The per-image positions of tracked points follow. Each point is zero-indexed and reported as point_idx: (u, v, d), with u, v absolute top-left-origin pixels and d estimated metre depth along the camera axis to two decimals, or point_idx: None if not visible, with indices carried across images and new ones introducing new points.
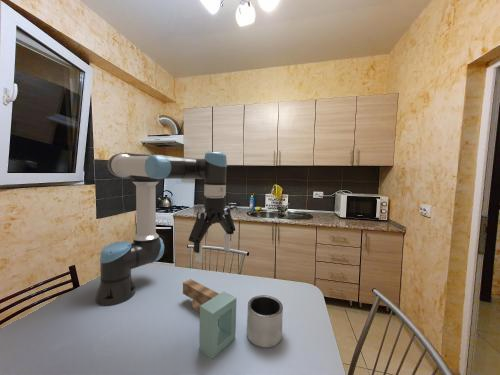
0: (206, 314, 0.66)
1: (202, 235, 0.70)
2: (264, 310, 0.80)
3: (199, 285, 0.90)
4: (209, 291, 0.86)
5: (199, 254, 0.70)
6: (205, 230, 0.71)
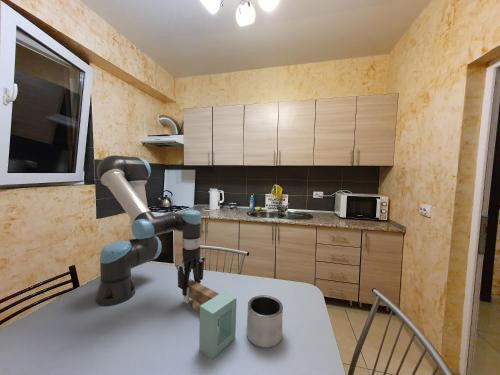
0: (206, 314, 0.66)
1: (187, 282, 0.89)
2: (264, 310, 0.80)
3: (199, 285, 0.90)
4: (209, 291, 0.86)
5: (186, 296, 0.90)
6: (188, 277, 0.89)
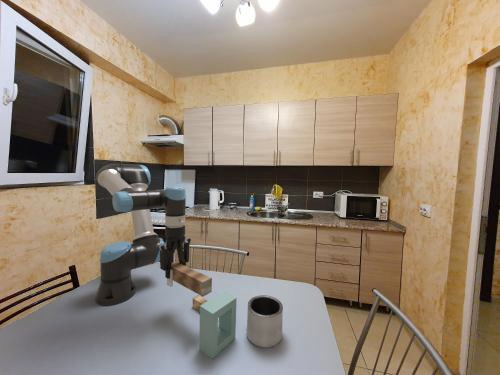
0: (206, 314, 0.66)
1: (170, 263, 0.82)
2: (264, 310, 0.80)
3: (184, 267, 0.83)
4: (194, 272, 0.79)
5: (170, 279, 0.82)
6: (171, 258, 0.82)
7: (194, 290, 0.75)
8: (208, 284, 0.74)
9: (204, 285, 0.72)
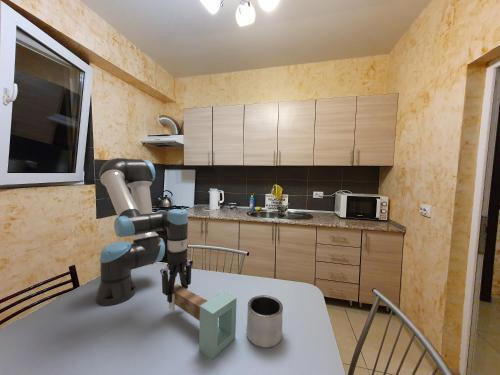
0: (206, 314, 0.66)
1: (172, 287, 0.81)
2: (264, 310, 0.80)
3: (186, 291, 0.83)
4: (196, 298, 0.78)
5: (172, 303, 0.82)
6: (173, 282, 0.82)
7: (196, 317, 0.74)
8: None
9: None
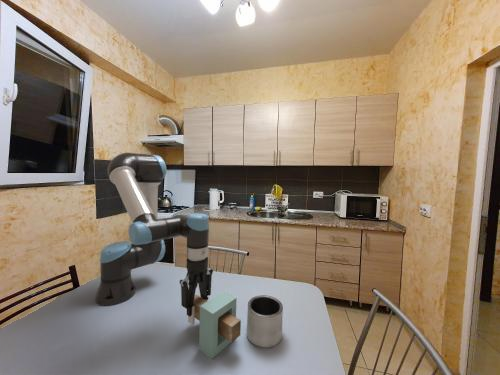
0: (206, 314, 0.66)
1: (192, 299, 0.74)
2: (264, 310, 0.80)
3: None
4: None
5: (191, 317, 0.75)
6: (193, 294, 0.74)
7: (221, 333, 0.67)
8: (237, 328, 0.66)
9: (233, 330, 0.65)
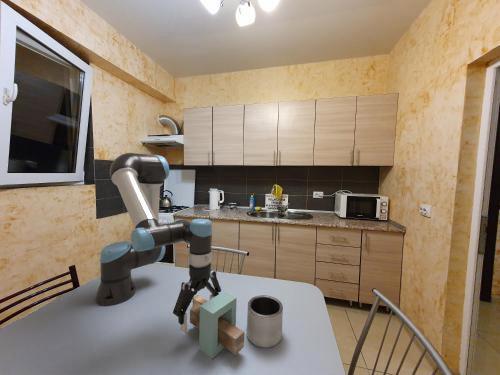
0: (206, 314, 0.66)
1: (186, 306, 0.70)
2: (264, 310, 0.80)
3: None
4: (223, 322, 0.70)
5: (183, 325, 0.70)
6: (190, 300, 0.71)
7: (224, 345, 0.66)
8: (241, 340, 0.66)
9: (237, 342, 0.64)
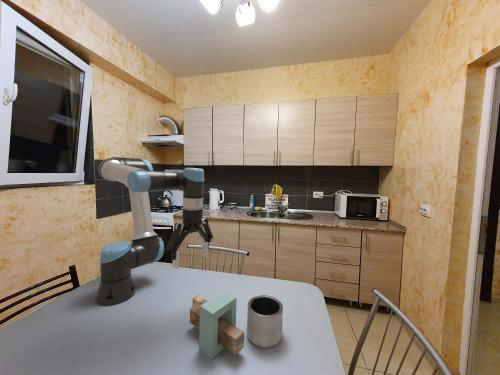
0: (206, 314, 0.66)
1: (179, 244, 0.77)
2: (264, 310, 0.80)
3: None
4: (223, 322, 0.70)
5: (176, 261, 0.77)
6: (182, 239, 0.77)
7: (224, 345, 0.66)
8: (241, 340, 0.66)
9: (237, 342, 0.64)
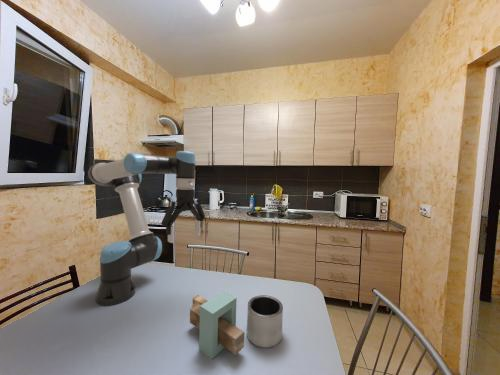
0: (206, 314, 0.66)
1: (173, 220, 0.84)
2: (264, 310, 0.80)
3: None
4: (223, 322, 0.70)
5: (170, 236, 0.84)
6: (176, 216, 0.85)
7: (224, 345, 0.66)
8: (241, 340, 0.66)
9: (237, 342, 0.64)
